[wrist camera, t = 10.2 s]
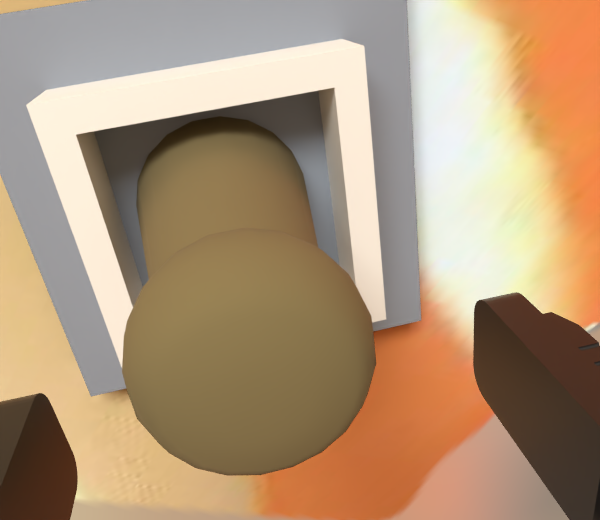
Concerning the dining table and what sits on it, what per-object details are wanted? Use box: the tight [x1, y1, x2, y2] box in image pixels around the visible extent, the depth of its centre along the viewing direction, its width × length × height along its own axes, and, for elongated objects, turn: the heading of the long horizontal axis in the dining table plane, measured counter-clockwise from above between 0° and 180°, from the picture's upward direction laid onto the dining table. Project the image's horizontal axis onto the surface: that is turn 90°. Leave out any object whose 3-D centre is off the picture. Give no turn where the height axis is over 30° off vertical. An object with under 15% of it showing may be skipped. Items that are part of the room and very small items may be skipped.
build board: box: [0, 0, 421, 396], centre depth 19 cm, size 14×14×4 cm
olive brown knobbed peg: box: [122, 116, 376, 475], centre depth 15 cm, size 6×6×11 cm
